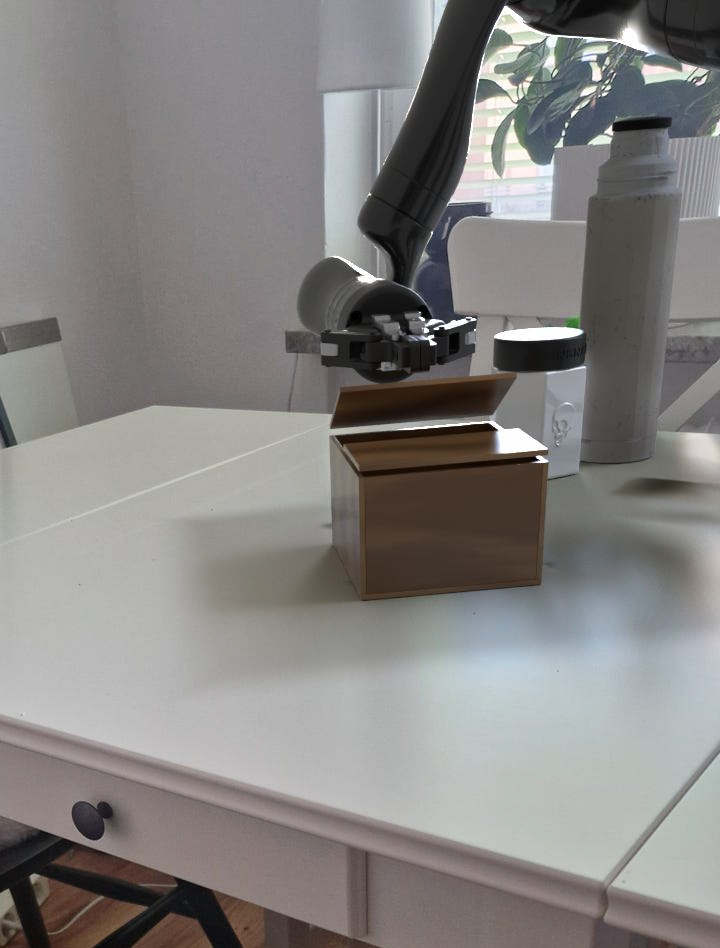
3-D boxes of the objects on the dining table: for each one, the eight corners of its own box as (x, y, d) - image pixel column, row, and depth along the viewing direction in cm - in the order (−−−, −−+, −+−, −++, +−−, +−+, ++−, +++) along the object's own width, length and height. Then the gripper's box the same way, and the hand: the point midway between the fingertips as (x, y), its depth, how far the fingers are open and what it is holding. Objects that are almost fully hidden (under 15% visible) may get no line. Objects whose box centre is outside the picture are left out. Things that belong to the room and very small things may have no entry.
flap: (329, 429, 90) (329, 424, 90) (492, 415, 90) (492, 410, 90) (340, 392, 82) (339, 387, 82) (517, 377, 83) (516, 371, 83)
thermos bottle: (556, 450, 117) (578, 122, 103) (631, 442, 118) (663, 116, 103) (590, 466, 110) (618, 118, 96) (669, 457, 111) (709, 111, 97)
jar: (521, 486, 105) (528, 344, 99) (467, 471, 112) (471, 336, 106) (598, 470, 109) (610, 331, 102) (542, 456, 115) (550, 324, 109)
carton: (332, 543, 94) (328, 424, 90) (488, 529, 94) (493, 410, 90) (360, 600, 81) (358, 466, 77) (541, 584, 82) (549, 449, 77)
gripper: (300, 287, 97) (328, 308, 82) (457, 274, 97) (513, 292, 82) (304, 382, 101) (331, 419, 86) (455, 370, 101) (508, 404, 86)
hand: (420, 357), depth 84 cm, fingers closed
